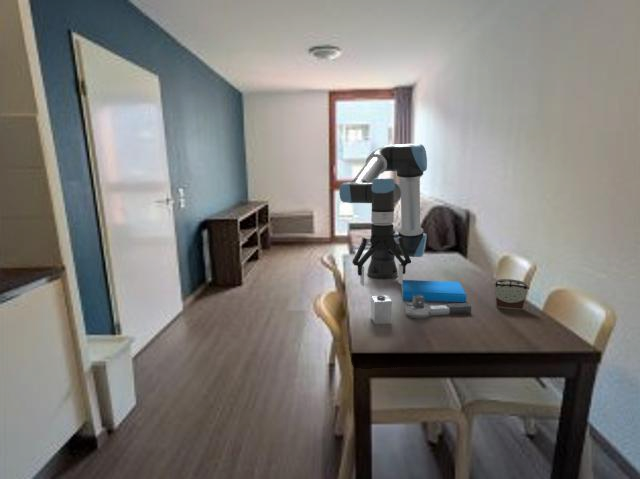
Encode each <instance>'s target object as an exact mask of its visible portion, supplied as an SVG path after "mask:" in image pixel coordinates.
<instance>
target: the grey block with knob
mask: <svg viewBox="0 0 640 479" xmlns="http://www.w3.org/2000/svg"><path fill="white" fill-rule="evenodd" d="M392 308H393V304H392V300H391V298H390V297H389V295H386V294H385V295H371V296H370V319H371V320H372V322H373V324H374V325H381V324H382V325H384V324H387V325H388V324H389V325H390V324H392V316H393V315H392V310H393V309H392Z"/></svg>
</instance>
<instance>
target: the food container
mask: <svg viewBox="0 0 640 479" xmlns="http://www.w3.org/2000/svg"><path fill="white" fill-rule="evenodd" d="M493 288H494V289H495V307H496V308H502V309H511V310H521V309H522V310H523V311H524V307H525V304H526V299H527V293H528V290H529V291H530V286H529V284H528V283H527V282H525V281H522V280H518V279H511V278H509V279H508V278H501V279H500V278H499V279H496V280H495V281H494V283H493Z"/></svg>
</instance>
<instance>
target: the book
mask: <svg viewBox="0 0 640 479" xmlns="http://www.w3.org/2000/svg"><path fill="white" fill-rule="evenodd" d="M400 287H401V296H402V301H403V300H405V301H413V295H422V296H423V297H424V302H427V301H429V302H430V301H431V302H447V303H449V302H452V303H467V293H466V291H465V290H464V288H463V286H462V285H461V283H460V282H459V281H443V280H442V281H441V280H440V281H439V280H437V281H436V280H415V279H414V280H412V279H411V280H410V279H403V283H402V284H401V286H400Z"/></svg>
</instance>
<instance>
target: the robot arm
mask: <svg viewBox="0 0 640 479" xmlns="http://www.w3.org/2000/svg"><path fill="white" fill-rule="evenodd" d="M427 169H428V158H427V151H426V147H425V146H424V145H423V144H421V143H405V144H404V143H402V144H401V143H400V144H387V145H383V146H381V147H378V148H377V149H375V150H374V151H372V152H371V153H369V155H368V156H367V158H366V160H365V164H364V166H362V168H361V169H360V170H359V172H358V173H357V175H356V176H355V177H354V179H353V180H352V181H350V182H349V181H348V182H343V183H342V184H340V186H339V193H338V194H339V199H340V201H341V202H342V203H348V204H371V219H370V220H371V223H372V224H371V226H370V227H371V229H370V230H371V231H370V232H371V235H370V237H369V238H366V237H362V238H361V244H360V245H359V247H358V250H357V251H356V253H355V255H354V257H353V259H352V264H353V266H355V267H357V275H358V276H360V278H359V279H360V282H359V283H360V285H361V286H365V267H364V265H365V263H366V262H367V261H368V260H369V258H370V262H369V265H368V268H367V276H368V277H370V278H373V279H383V280H384V279H387V280H388V279H394V278H396V277H398V279H397V282H398V284H400V285H402V283H403V280H404V279H403V278H404V277H403V276H404V275H405V274H406V272H407V271H406V268H407V265H408V264H411V263H412V260H411V258H421V257H423V256H424V253H425V250H426V244H427V238H428V236H427V233H424V228H422V227H421V180H420V179H421V177H423V175H424V172H426V171H427ZM385 172H396V177H397V178H399V179H400V180H399V181H400V182H399V183H400V185H399V184H398V183H397V182H395V179H394V178H393V177H379V176H380V175H382V174H383V173H385ZM399 200H400V216H401V217H400V219H401V221H400V223H401V227H399V229H398V231H396V229H395V228H394V224H393V223H394V221H395V220H394V219H395V214H394V212H395V203H397V202H399ZM369 243H370V246H369V249H368V250H367V251H366V252H365V254H364V255H363V253H364V251H365V250H366V246H367V245H368V244H369ZM362 255H363V256H362ZM402 257H403V258H402ZM395 258H396V259H397V261H399V264H398V268H397V264H396V260H395Z"/></svg>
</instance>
